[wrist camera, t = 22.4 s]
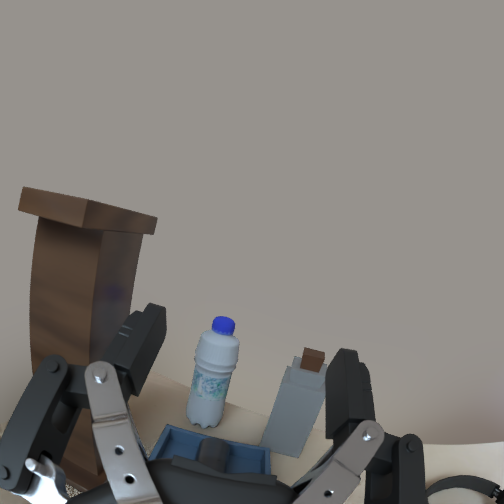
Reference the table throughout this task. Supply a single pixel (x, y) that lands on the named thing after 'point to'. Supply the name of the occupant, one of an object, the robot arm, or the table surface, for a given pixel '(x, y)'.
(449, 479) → the headphones
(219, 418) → the bottle
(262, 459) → the tray
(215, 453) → the round carving mallet
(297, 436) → the perfume bottle
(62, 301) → the brown tall pedestal fixture
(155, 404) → the table surface
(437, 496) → the table surface
